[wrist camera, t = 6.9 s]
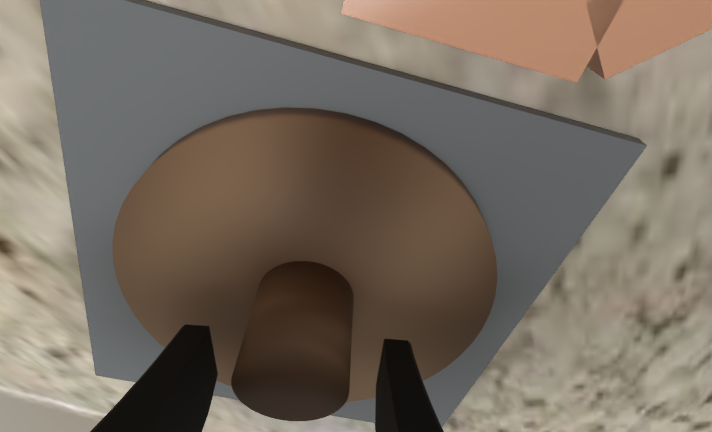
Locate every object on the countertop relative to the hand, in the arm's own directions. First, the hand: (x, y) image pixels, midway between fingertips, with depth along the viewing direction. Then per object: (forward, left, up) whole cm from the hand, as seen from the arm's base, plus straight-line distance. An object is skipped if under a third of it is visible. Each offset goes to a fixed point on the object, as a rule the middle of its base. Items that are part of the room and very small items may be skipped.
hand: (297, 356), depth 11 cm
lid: (0, 0, -3) cm, 3 cm away
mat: (0, 0, -3) cm, 3 cm away
